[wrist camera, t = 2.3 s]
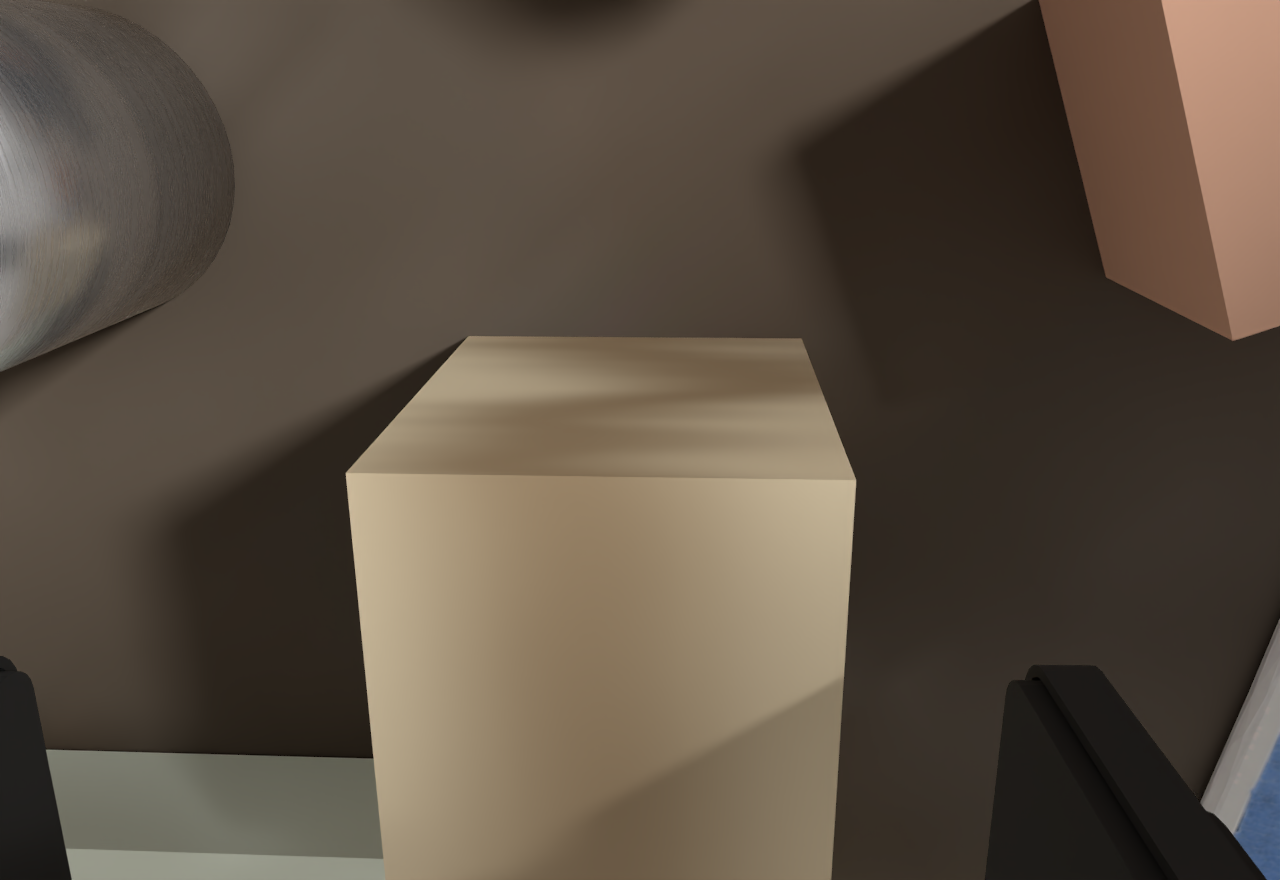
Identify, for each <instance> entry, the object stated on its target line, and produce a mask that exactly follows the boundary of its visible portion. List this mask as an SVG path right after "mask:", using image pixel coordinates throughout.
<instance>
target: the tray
mask: <svg viewBox="0 0 1280 880" xmlns="http://www.w3.org/2000/svg"><path fill="white" fill-rule="evenodd" d="M46 753H47V758H48V763H49V768H50V773H51V778H52V783H53V788H54V793H55V798H56V803H57V808H58V813H59V818H60V823H61V828H62V833H63V838H64V843H65V848H66V853H67V858H68V863H69V868H70V873H71V878H72V880H385V870H384V860H383V849H382V839H381V829H380V819H379V809H378V798H377V788H376V778H375V768H374V759H367V758H331V757H295V756H259V755H223V754H187V753H150V752H114V751H78V750H46Z"/></svg>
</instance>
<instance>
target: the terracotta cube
mask: <svg viewBox="0 0 1280 880" xmlns="http://www.w3.org/2000/svg"><path fill="white" fill-rule="evenodd" d="M1039 4H1040V8H1041V12H1042V16H1043V20H1044V24H1045V28H1046V32H1047V36H1048V41H1049V45H1050V49H1051V53H1052V57H1053V61H1054V65H1055V69H1056V73H1057V78H1058V82H1059V86H1060V90H1061V94H1062V98H1063V102H1064V106H1065V111H1066V115H1067V119H1068V123H1069V127H1070V131H1071V135H1072V139H1073V143H1074V148H1075V152H1076V156H1077V160H1078V164H1079V168H1080V172H1081V176H1082V180H1083V185H1084V189H1085V193H1086V197H1087V201H1088V205H1089V209H1090V213H1091V218H1092V222H1093V226H1094V230H1095V234H1096V238H1097V242H1098V246H1099V250H1100V255H1101V259H1102V263H1103V267H1104V271H1105V275H1106V278H1108V279H1110V280H1112V281H1114V282H1116V283H1118V284H1120V285H1122V286H1124V287H1126V288H1128V289H1130V290H1132V291H1134V292H1136V293H1138V294H1140V295H1142V296H1144V297H1146V298H1148V299H1150V300H1152V301H1154V302H1156V303H1158V304H1160V305H1162V306H1164V307H1166V308H1168V309H1170V310H1172V311H1174V312H1176V313H1178V314H1180V315H1182V316H1184V317H1186V318H1188V319H1190V320H1192V321H1194V322H1196V323H1198V324H1200V325H1202V326H1204V327H1206V328H1208V329H1210V330H1212V331H1214V332H1216V333H1218V334H1220V335H1222V336H1224V337H1226V338H1228V339H1230V340H1232V341H1234V340H1237V339H1241V338H1244V337H1247V336H1250V335H1253V334H1256V333H1259V332H1262V331H1265V330H1269V329H1272V328H1275V327H1278V326H1280V0H1039Z"/></svg>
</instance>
